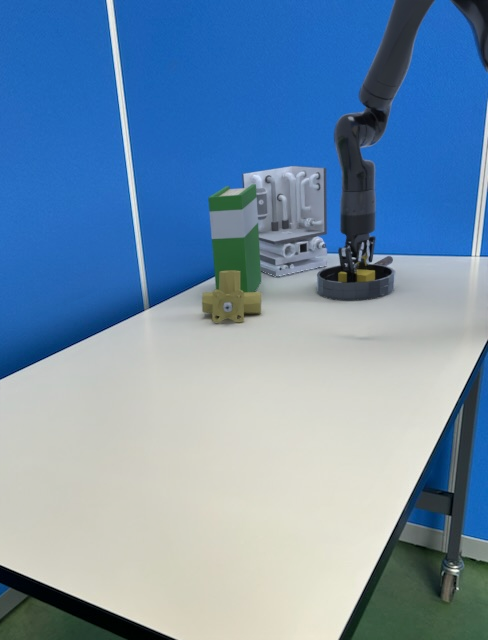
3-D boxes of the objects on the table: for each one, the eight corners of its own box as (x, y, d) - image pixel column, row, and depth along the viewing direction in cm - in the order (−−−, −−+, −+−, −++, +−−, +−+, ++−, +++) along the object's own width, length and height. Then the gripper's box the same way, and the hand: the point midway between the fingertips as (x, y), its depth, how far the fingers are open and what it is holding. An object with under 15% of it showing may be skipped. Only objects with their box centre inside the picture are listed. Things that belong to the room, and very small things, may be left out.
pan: (406, 283, 145) (406, 266, 144) (373, 304, 134) (374, 285, 132) (339, 277, 156) (339, 261, 154) (303, 296, 144) (303, 279, 143)
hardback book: (233, 282, 162) (226, 186, 151) (261, 282, 159) (256, 184, 149) (217, 303, 146) (208, 197, 136) (248, 302, 144) (241, 195, 134)
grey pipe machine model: (296, 257, 180) (293, 165, 170) (334, 268, 164) (334, 168, 153) (248, 267, 175) (242, 173, 165) (282, 280, 159) (278, 177, 149)
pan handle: (394, 263, 156) (394, 255, 156) (374, 274, 149) (374, 266, 148) (386, 262, 158) (386, 255, 157) (366, 273, 150) (367, 265, 149)
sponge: (374, 285, 145) (375, 270, 143) (366, 290, 142) (366, 275, 140) (347, 282, 149) (347, 268, 148) (338, 287, 146) (338, 273, 145)
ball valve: (204, 316, 141) (199, 324, 131) (204, 270, 138) (198, 275, 128) (261, 316, 139) (259, 325, 130) (261, 269, 136) (260, 274, 126)
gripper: (358, 217, 131) (357, 296, 138) (387, 205, 140) (385, 279, 148) (326, 216, 136) (327, 292, 143) (357, 204, 145) (356, 276, 152)
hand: (356, 285), depth 145 cm, fingers closed on sponge, 4 cm apart
